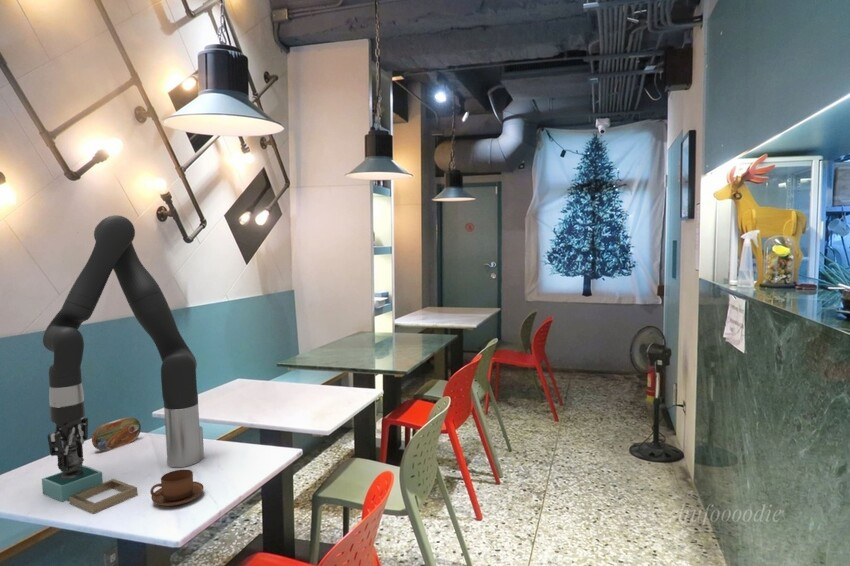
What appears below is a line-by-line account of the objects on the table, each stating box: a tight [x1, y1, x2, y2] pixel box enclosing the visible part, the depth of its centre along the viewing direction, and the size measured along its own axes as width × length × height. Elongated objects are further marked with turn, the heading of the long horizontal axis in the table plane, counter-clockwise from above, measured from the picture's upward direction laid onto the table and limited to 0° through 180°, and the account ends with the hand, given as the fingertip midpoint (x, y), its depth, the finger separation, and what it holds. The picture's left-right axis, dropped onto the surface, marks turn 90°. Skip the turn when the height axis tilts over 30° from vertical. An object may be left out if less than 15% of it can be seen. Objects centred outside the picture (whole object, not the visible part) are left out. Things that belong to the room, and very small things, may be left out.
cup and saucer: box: [149, 468, 204, 507], centre depth 134 cm, size 12×12×6 cm
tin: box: [91, 416, 142, 452], centre depth 172 cm, size 15×3×8 cm, turn 152°
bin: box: [41, 464, 104, 503], centre depth 140 cm, size 10×10×4 cm
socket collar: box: [68, 478, 139, 515], centre depth 135 cm, size 11×11×2 cm
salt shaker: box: [57, 435, 85, 479], centre depth 140 cm, size 6×6×12 cm
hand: (71, 463), depth 140 cm, fingers closed on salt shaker, 6 cm apart
